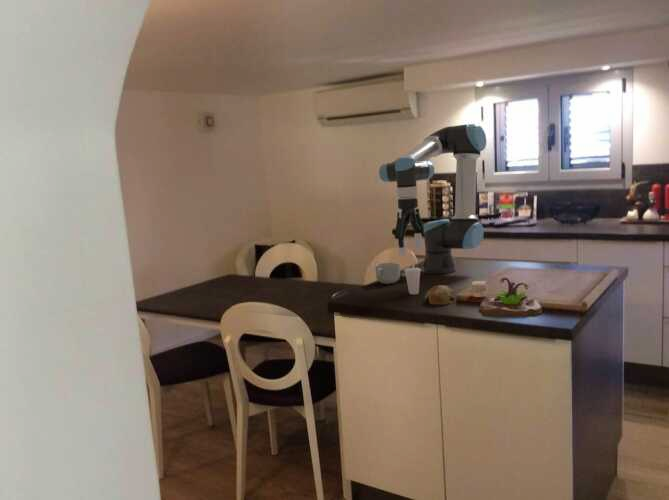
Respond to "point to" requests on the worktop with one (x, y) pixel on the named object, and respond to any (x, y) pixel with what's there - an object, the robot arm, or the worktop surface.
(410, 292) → the smoothie
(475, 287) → the birch block
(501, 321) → the worktop surface
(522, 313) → the plant
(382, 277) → the teacup
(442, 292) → the bread roll
